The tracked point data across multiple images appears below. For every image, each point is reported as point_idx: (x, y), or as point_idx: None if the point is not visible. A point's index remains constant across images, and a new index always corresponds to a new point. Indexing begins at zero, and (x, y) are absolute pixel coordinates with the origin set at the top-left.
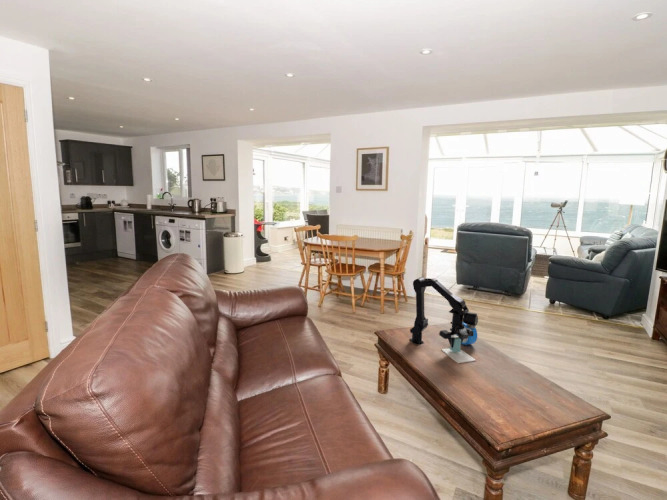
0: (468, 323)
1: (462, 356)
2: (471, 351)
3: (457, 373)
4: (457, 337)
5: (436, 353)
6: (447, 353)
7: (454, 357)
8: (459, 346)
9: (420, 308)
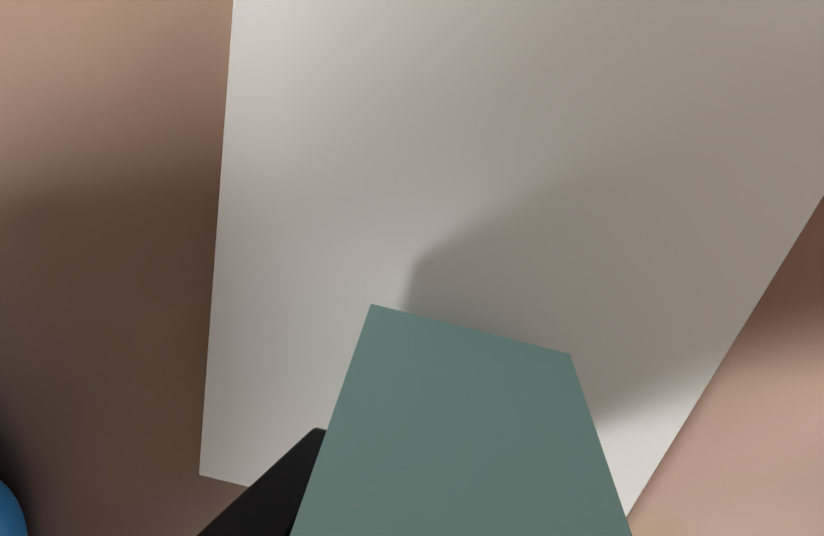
0: None
1: (473, 117)
2: (7, 235)
3: None
4: None
5: (816, 522)
6: (674, 414)
7: (746, 186)
8: (387, 429)
9: None
